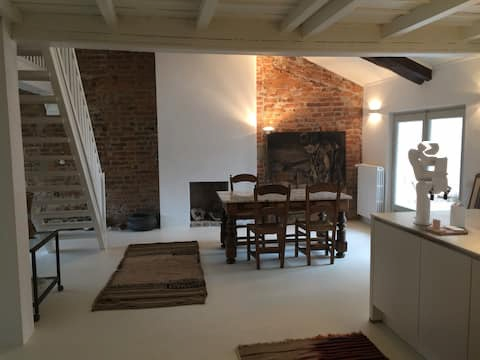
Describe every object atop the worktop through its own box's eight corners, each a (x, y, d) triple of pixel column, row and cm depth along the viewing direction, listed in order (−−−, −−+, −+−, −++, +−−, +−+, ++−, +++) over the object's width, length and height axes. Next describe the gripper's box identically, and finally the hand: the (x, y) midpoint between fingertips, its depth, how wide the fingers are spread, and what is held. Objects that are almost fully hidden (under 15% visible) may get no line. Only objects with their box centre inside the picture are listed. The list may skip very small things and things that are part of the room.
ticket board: (425, 230, 281) (425, 226, 281) (451, 228, 285) (451, 225, 284) (440, 235, 266) (440, 231, 265) (467, 234, 269) (468, 230, 269)
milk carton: (459, 225, 296) (460, 199, 294) (464, 227, 289) (466, 201, 287) (449, 225, 295) (450, 199, 293) (455, 227, 288) (456, 201, 286)
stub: (426, 228, 279) (427, 218, 278) (434, 228, 280) (434, 217, 279) (438, 232, 267) (438, 221, 267) (445, 232, 268) (446, 221, 267)
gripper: (448, 173, 277) (446, 198, 279) (424, 174, 274) (423, 199, 277) (455, 175, 269) (453, 200, 272) (431, 176, 267) (430, 201, 269)
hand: (438, 200), depth 274 cm, fingers open, 9 cm apart
